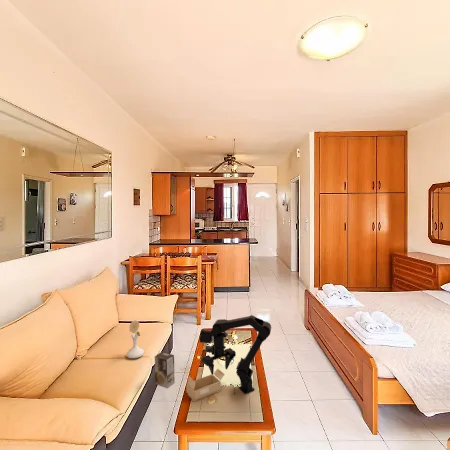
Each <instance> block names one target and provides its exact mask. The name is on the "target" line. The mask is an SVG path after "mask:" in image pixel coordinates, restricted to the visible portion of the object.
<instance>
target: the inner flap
mask: <svg viewBox="0 0 450 450" xmlns="http://www.w3.org/2000/svg"><path fill="white" fill-rule="evenodd" d="M213 375H214V376H215V377H216V378H217V379H218V380H219V381H221V380H222V379H223V378H224V376H225V373H224V372H223V371H221V369H219V368H217V369H216V370H215V371H214V372H213Z"/></svg>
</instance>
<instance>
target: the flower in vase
mask: <svg viewBox="0 0 450 450" xmlns="http://www.w3.org/2000/svg"><path fill="white" fill-rule="evenodd" d="M128 328H129V332H131V333H133V334H131V336H130V338H131V339H132V341H133V344H132V347H131V348H130V349H128V351H127V352H126V354H125V355H126V357H127V358H129V359H137V358H138V359H139V358H140V357H142V356H144V354H145V350H144V349H143V348H141V347H139V346H138V338H139V336H141V334H140V331H139V328H140V322H139V321H138V320H137V319H136V320H132V322H130V324H129V327H128Z"/></svg>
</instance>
